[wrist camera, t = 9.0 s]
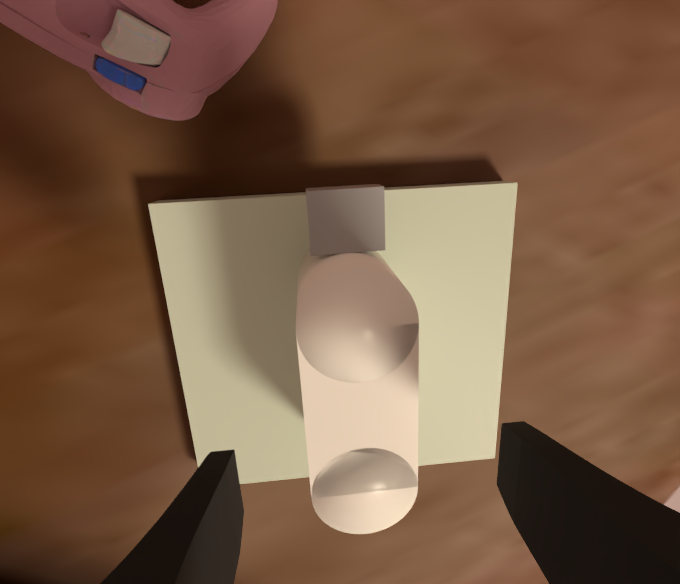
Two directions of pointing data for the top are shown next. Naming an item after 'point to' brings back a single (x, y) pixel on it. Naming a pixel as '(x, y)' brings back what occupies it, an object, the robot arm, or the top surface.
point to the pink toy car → (147, 45)
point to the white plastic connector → (356, 364)
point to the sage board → (280, 317)
